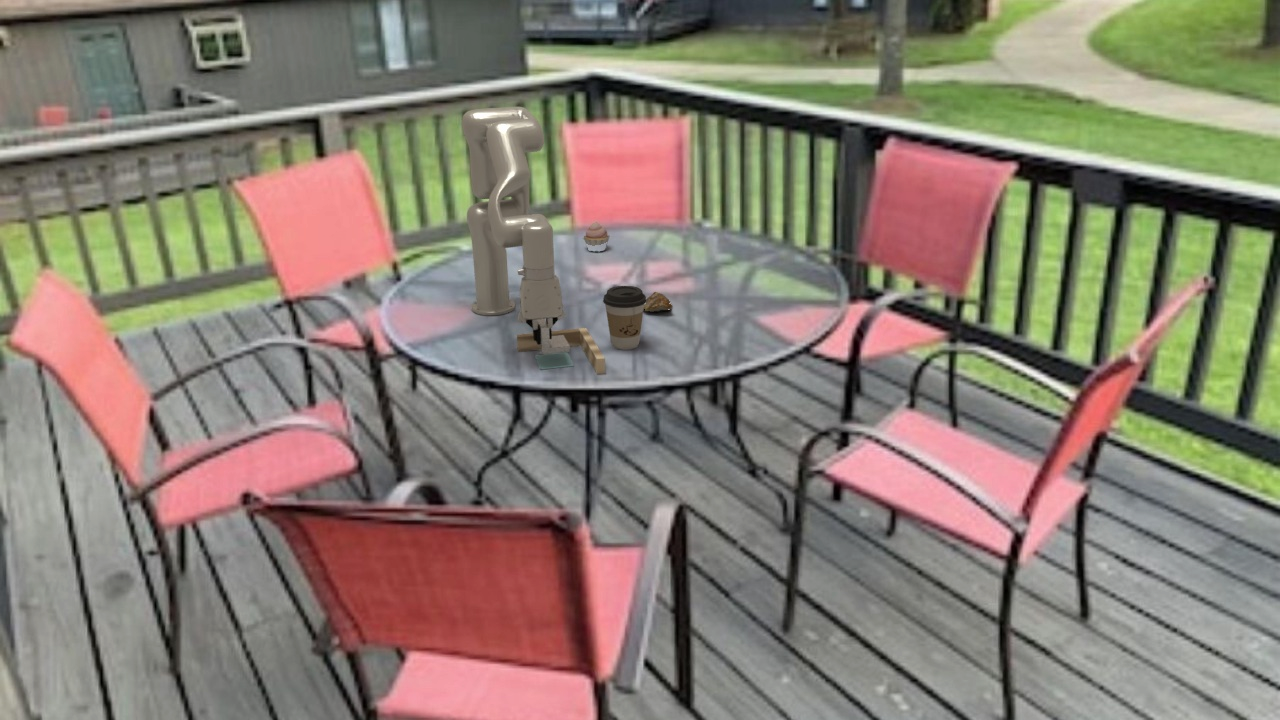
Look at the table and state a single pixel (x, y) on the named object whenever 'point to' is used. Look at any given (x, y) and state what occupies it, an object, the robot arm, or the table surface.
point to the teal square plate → (554, 361)
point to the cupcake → (596, 235)
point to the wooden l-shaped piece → (573, 338)
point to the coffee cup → (624, 315)
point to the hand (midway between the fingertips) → (542, 341)
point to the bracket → (551, 340)
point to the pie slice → (657, 303)
